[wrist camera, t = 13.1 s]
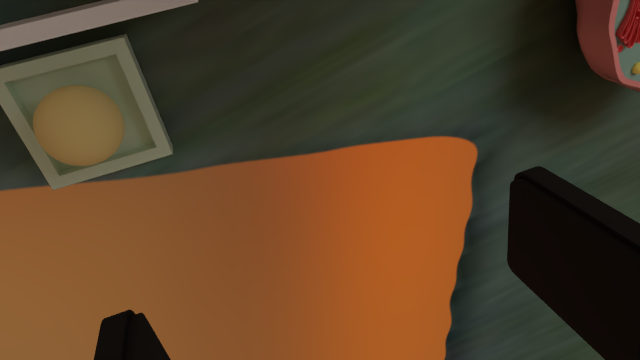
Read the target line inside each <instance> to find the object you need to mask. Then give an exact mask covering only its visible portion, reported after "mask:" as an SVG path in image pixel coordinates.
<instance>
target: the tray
mask: <svg viewBox="0 0 640 360" xmlns="http://www.w3.org/2000/svg"><path fill="white" fill-rule="evenodd" d="M70 85H82V86H88V87H91V88H95V89H97V90H99V91H101V92H103V93H105V94H106V95H107V96H109V97H110V98H111V99H112V100H113V101H114V102H115V103H116V105H117V106H118V107H119V109H120V111H121V113H122V115H123V119H124V124H125V132H124V137H123V140H122V143H121V145H120V146H119V148H118V149H117V151H116V152H115V153H114V154H113V155H112V156H110V157H109V158H108V159H106V160H104V161H102V162H100V163H97V164H94V165H88V166H75V165H69V164H66V163H63V162H60V161H58V160H56V159H55V158H53V157H52V156H50V155H49V154H48V153H47V152H46V151H45V150H44V149H43V148H42V147H41V146H40V144H39V143H38V141H37V139H36V136H35V134H34V129H33V117H34V113H35V110H36V108H37V106H38V104H39V103H40V101H41V100H42V99H43V98H44V97H45V96H46V95H47V94H49V93H50V92H52V91H54V90H56V89H58V88H61V87H64V86H70ZM0 105H1V106H2V108H3V110H4V111H5V113H6V115H7V116H8V118H9V119H10V121H11V123H12V124H13V126H14V128H15V129H16V131H17V133H18V134H19V136H20V137H21V139H22V141H23V142H24V144H25V146H26V147H27V149H28V151H29V152H30V154H31V155H32V157H33V159H34V160H35V162H36V164H37V165H38V167H39V168H40V170H41V172H42V173H43V175H44V177H45V178H46V180H47V182H48V183H49V185H50V186H51V188H52V190H55V189H58V188H62V187H65V186H68V185H72V184H75V183H78V182H82V181H85V180H88V179H92V178H95V177H98V176H102V175H105V174H108V173H112V172H115V171H118V170H122V169H125V168H128V167H132V166H135V165H138V164H142V163H145V162H148V161H152V160H155V159H158V158H162V157H165V156H168V155H172V154H173V145H172V143H171V141H170V138H169V136H168V133H167V131H166V129H165V126H164V124H163V121H162V119H161V117H160V114H159V112H158V109H157V107H156V105H155V102H154V100H153V97H152V95H151V92H150V90H149V88H148V85H147V83H146V80H145V78H144V76H143V73H142V71H141V68H140V66H139V64H138V61H137V59H136V56H135V54H134V52H133V49H132V47H131V44H130V42H129V40H128V37H127V35H126V34H122V35H118V36H114V37H110V38H106V39H102V40H98V41H94V42H90V43H86V44H82V45H78V46H74V47H70V48H67V49H63V50H59V51H55V52H51V53H47V54H43V55H39V56H35V57H31V58H27V59H23V60H19V61H15V62H11V63H7V64H3V65H0Z"/></svg>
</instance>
